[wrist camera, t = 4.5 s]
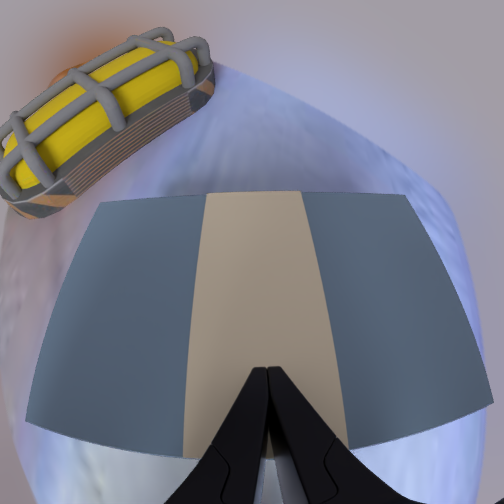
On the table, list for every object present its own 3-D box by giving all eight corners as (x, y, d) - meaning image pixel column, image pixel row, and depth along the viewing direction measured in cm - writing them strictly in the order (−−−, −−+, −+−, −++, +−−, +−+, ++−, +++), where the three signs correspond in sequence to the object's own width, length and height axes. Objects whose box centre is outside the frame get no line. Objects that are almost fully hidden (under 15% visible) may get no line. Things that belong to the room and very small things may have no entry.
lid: (479, 409, 8) (495, 401, 7) (39, 427, 8) (23, 420, 7) (399, 207, 16) (405, 193, 16) (105, 215, 16) (99, 201, 16)
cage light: (-25, 141, 21) (165, 16, 30) (5, 177, 28) (173, 59, 37) (-18, 205, 16) (237, 34, 25) (29, 246, 24) (239, 89, 32)
